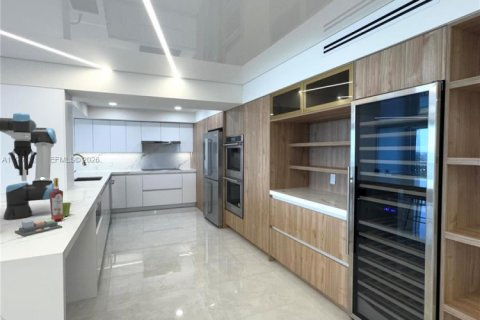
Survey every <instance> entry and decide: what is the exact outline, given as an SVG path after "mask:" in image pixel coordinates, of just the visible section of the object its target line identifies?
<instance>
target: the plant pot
mask: <svg viewBox="0 0 480 320" xmlns="http://www.w3.org/2000/svg"><path fill="white" fill-rule="evenodd" d="M71 205H72V202H63V218H66V217H69V216H70V211H71V210H70V209H71Z"/></svg>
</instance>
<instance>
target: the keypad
mask: <svg viewBox="0 0 480 320" xmlns="http://www.w3.org/2000/svg"><path fill="white" fill-rule="evenodd" d="M58 222H59V221H56V222H55V223H50V224H45V225H41V226H37V227H35V226H34V227H31V228H26V229H24V228H22V226H21V227H18V230H14V233H15V234H17V235H19V236H22V237H29V236H33V235H37V234H41V233H42V234H43V233H45V232H49V231H54V230H57V229H59V230H60V229H62V228H63V226H62V225H60V224H58Z"/></svg>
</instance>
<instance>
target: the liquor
mask: <svg viewBox="0 0 480 320" xmlns="http://www.w3.org/2000/svg"><path fill="white" fill-rule="evenodd" d="M52 181H53V183H54V188H53V191H51V192H49V195H50V199H49V204H50V214H51V215H50V216H51V218H50V219H53V220H55V222H61V221H62V220H63V219H64V217H63V203H64V191H63V190H61V189H60V186H59V177H54V178H52Z"/></svg>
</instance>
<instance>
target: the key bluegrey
mask: <svg viewBox="0 0 480 320" xmlns="http://www.w3.org/2000/svg"><path fill="white" fill-rule="evenodd" d="M34 223H35V222H34V220H25V221H21V227H22V228H24V229H26V228H31V227H34Z"/></svg>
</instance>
